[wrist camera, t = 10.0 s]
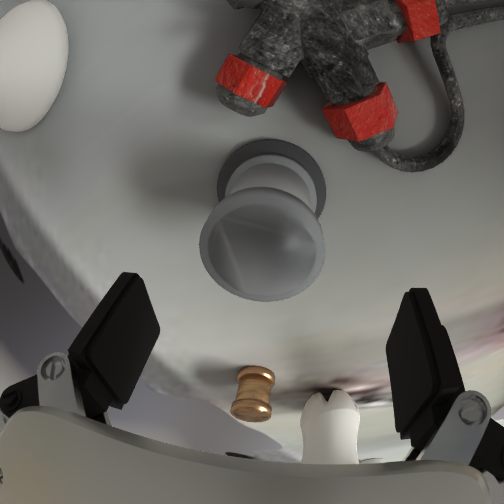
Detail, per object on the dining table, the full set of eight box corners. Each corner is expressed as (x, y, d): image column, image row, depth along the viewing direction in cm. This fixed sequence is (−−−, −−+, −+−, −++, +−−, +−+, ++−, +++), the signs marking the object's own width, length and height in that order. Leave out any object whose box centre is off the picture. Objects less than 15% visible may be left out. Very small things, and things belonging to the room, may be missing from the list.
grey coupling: (318, 154, 18) (330, 198, 12) (312, 235, 21) (318, 304, 15) (225, 152, 18) (192, 194, 13) (230, 232, 22) (206, 297, 16)
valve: (295, 202, 22) (180, 29, 14) (537, 95, 14) (483, -60, 6) (307, 256, 18) (147, 24, 9) (585, 122, 9) (534, -65, 1)
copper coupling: (275, 366, 31) (270, 406, 26) (274, 386, 33) (271, 423, 29) (236, 364, 31) (228, 403, 27) (239, 384, 33) (232, 420, 29)
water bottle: (329, 415, 36) (320, 582, 15) (289, 401, 35) (268, 587, 14) (369, 395, 32) (372, 583, 12) (330, 378, 31) (320, 596, 10)
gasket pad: (327, 140, 17) (327, 141, 17) (322, 239, 21) (322, 241, 21) (213, 141, 18) (212, 142, 18) (223, 237, 22) (222, 240, 22)
